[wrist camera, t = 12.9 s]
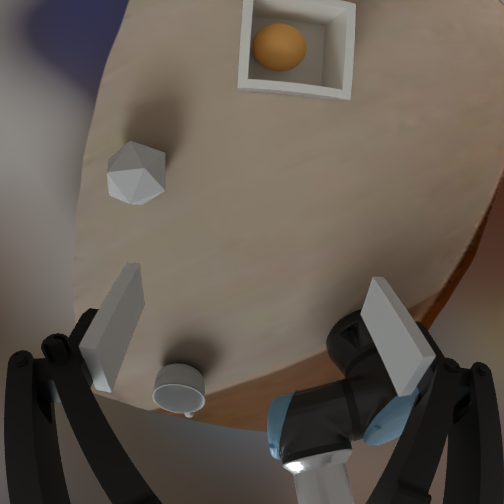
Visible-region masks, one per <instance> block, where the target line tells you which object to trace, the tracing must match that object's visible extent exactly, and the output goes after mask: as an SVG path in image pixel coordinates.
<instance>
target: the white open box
mask: <svg viewBox="0 0 504 504" xmlns="http://www.w3.org/2000/svg"><path fill="white" fill-rule="evenodd" d="M355 17H356V4H354V3H350V2H346V1H342V0H243V13H242V26H241V40H240V55H239V70H238V86H237V88H238V91H246V92H263V93H275V94H286V95H296V96H304V97H312V98H320V99H333V100H350V98H351V86H352V74H353V60H354V42H355ZM274 23H283V24H287V25H290V26H292V27H294V28H296V29H297V30H298V31H299V32H300V33H301V34H302V36H303V37H304V39H305V42H306V54H305V57H304V59H303V60H302V61H301V63H300V64H299V65H297V66H296V67H294V68H292V69H290V70H286V71H274V70H270V69H268V68H266V67H264V66H263V65H261V64H260V63H259V62H258V60H257V59H256V58H255V56H254V53H253V49H252V44H253V40H254V37H255V35H256V34H257V33H258V31H259V30H261V29H262V28H263V27H265V26H267V25H270V24H274Z"/></svg>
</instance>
